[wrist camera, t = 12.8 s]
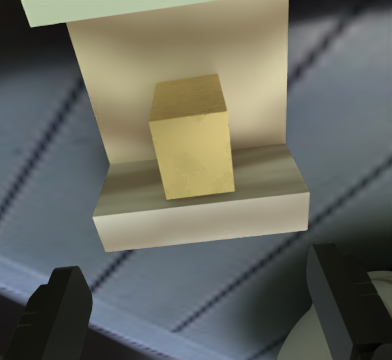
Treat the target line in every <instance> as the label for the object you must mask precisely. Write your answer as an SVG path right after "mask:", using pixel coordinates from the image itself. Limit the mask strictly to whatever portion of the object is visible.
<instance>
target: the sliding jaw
mask: <svg viewBox="0 0 392 360" xmlns="http://www.w3.org/2000/svg"><path fill="white" fill-rule="evenodd" d="M210 1H217V0H21V2H22V5H23V7H24V10H25V13H26V16H27V18H28V21H29V24H30V27H36V26H43V25H50V24H57V23H64V22H71V21H77V20H84V19H91V18H98V17H105V16H112V15H119V14H126V13H133V12H140V11H147V10H154V9H161V8H168V7H175V6H182V5H189V4H196V3H203V2H210Z"/></svg>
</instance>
